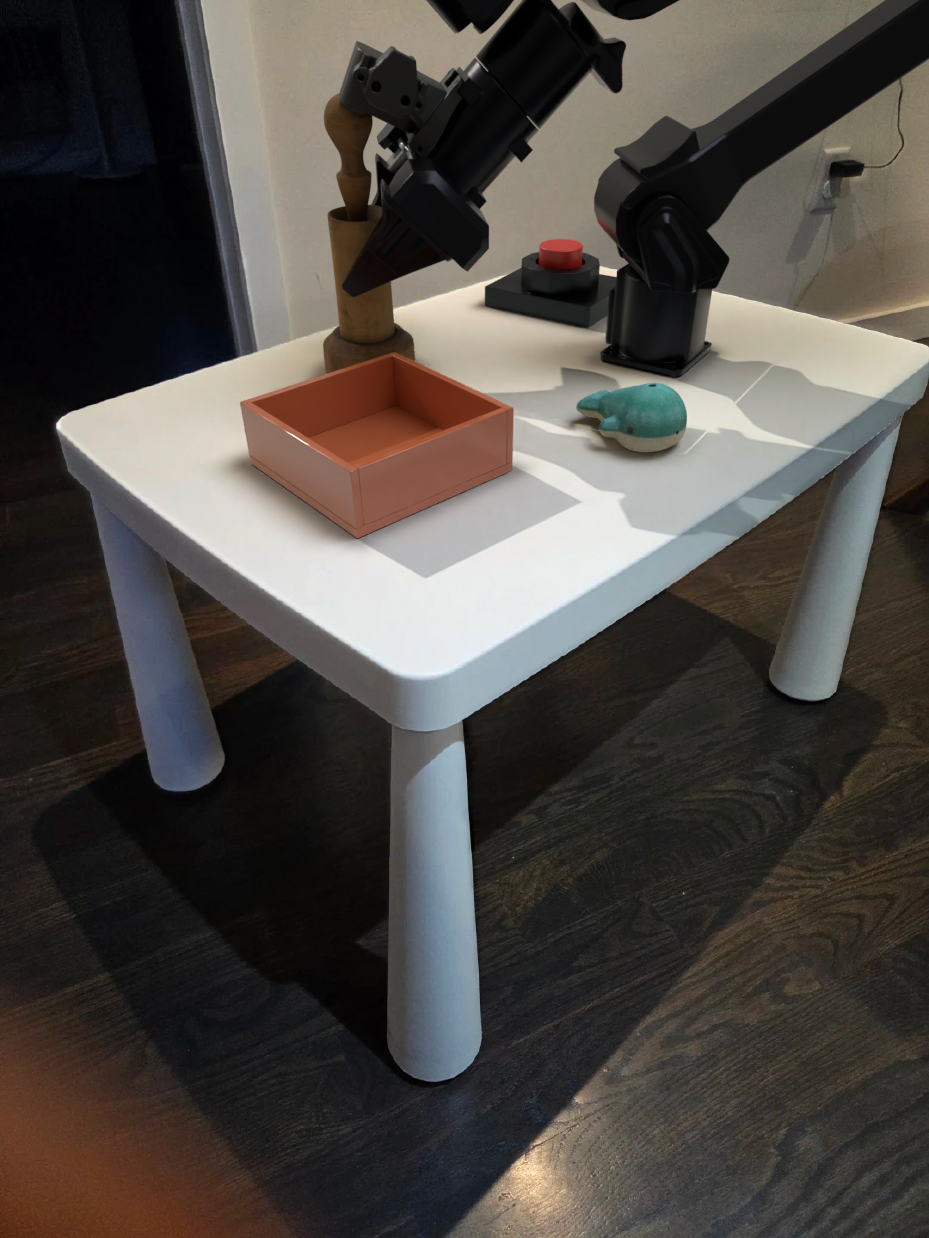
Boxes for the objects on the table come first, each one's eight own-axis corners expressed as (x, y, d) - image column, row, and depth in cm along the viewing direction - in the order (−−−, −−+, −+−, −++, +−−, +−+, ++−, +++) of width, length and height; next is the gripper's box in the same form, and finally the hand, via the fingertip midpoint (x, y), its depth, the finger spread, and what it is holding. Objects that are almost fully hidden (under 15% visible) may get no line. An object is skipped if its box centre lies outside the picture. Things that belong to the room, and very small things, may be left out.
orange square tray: (398, 409, 62) (394, 351, 60) (512, 470, 55) (514, 407, 53) (250, 463, 57) (239, 401, 54) (357, 538, 50) (350, 471, 47)
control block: (631, 299, 79) (635, 258, 77) (588, 328, 74) (591, 284, 72) (531, 280, 84) (532, 241, 81) (484, 306, 78) (484, 264, 76)
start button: (589, 264, 77) (590, 242, 76) (568, 275, 75) (570, 253, 74) (551, 257, 79) (552, 236, 78) (530, 268, 76) (531, 247, 75)
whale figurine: (643, 469, 55) (650, 411, 53) (556, 429, 60) (559, 374, 57) (703, 439, 58) (712, 383, 56) (616, 403, 63) (621, 350, 60)
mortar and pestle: (421, 353, 70) (407, 83, 58) (409, 392, 65) (391, 106, 53) (335, 351, 70) (304, 83, 58) (317, 389, 65) (279, 106, 54)
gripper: (401, -24, 60) (257, 165, 66) (426, -2, 46) (239, 237, 52) (515, 107, 66) (373, 270, 72) (570, 164, 51) (386, 363, 57)
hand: (346, 282), depth 63 cm, fingers closed on mortar and pestle, 4 cm apart
